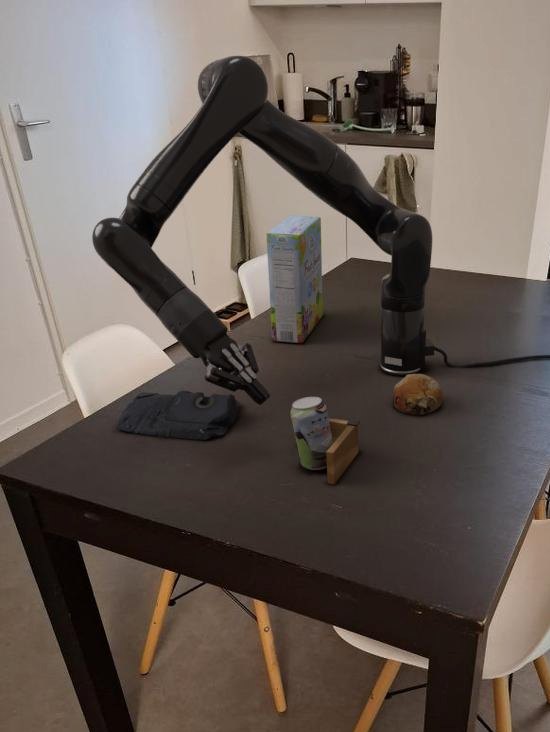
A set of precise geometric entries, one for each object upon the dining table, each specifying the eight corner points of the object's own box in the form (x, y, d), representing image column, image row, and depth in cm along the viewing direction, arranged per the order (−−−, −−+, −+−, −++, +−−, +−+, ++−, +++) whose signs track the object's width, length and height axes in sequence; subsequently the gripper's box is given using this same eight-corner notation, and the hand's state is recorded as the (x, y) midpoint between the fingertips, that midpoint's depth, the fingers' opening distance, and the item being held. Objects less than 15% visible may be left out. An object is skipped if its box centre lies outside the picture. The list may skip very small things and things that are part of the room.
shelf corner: (273, 472, 117) (270, 440, 114) (301, 441, 126) (299, 410, 123) (336, 484, 113) (334, 451, 110) (360, 452, 123) (360, 420, 119)
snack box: (306, 345, 167) (300, 234, 153) (271, 343, 168) (262, 233, 154) (325, 315, 185) (321, 214, 171) (294, 314, 186) (287, 213, 172)
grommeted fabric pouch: (145, 398, 142) (141, 376, 140) (247, 406, 139) (244, 384, 136) (108, 432, 130) (103, 409, 127) (219, 442, 126) (216, 419, 124)
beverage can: (328, 477, 116) (325, 412, 109) (288, 470, 118) (283, 406, 111) (341, 459, 121) (339, 396, 114) (302, 452, 123) (298, 390, 116)
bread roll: (444, 417, 141) (449, 378, 140) (433, 417, 132) (440, 375, 131) (397, 410, 144) (403, 372, 143) (384, 410, 134) (390, 369, 133)
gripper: (181, 322, 106) (259, 405, 109) (224, 296, 117) (295, 373, 120) (158, 350, 111) (234, 429, 114) (201, 323, 121) (270, 396, 124)
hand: (265, 400), depth 117 cm, fingers closed
